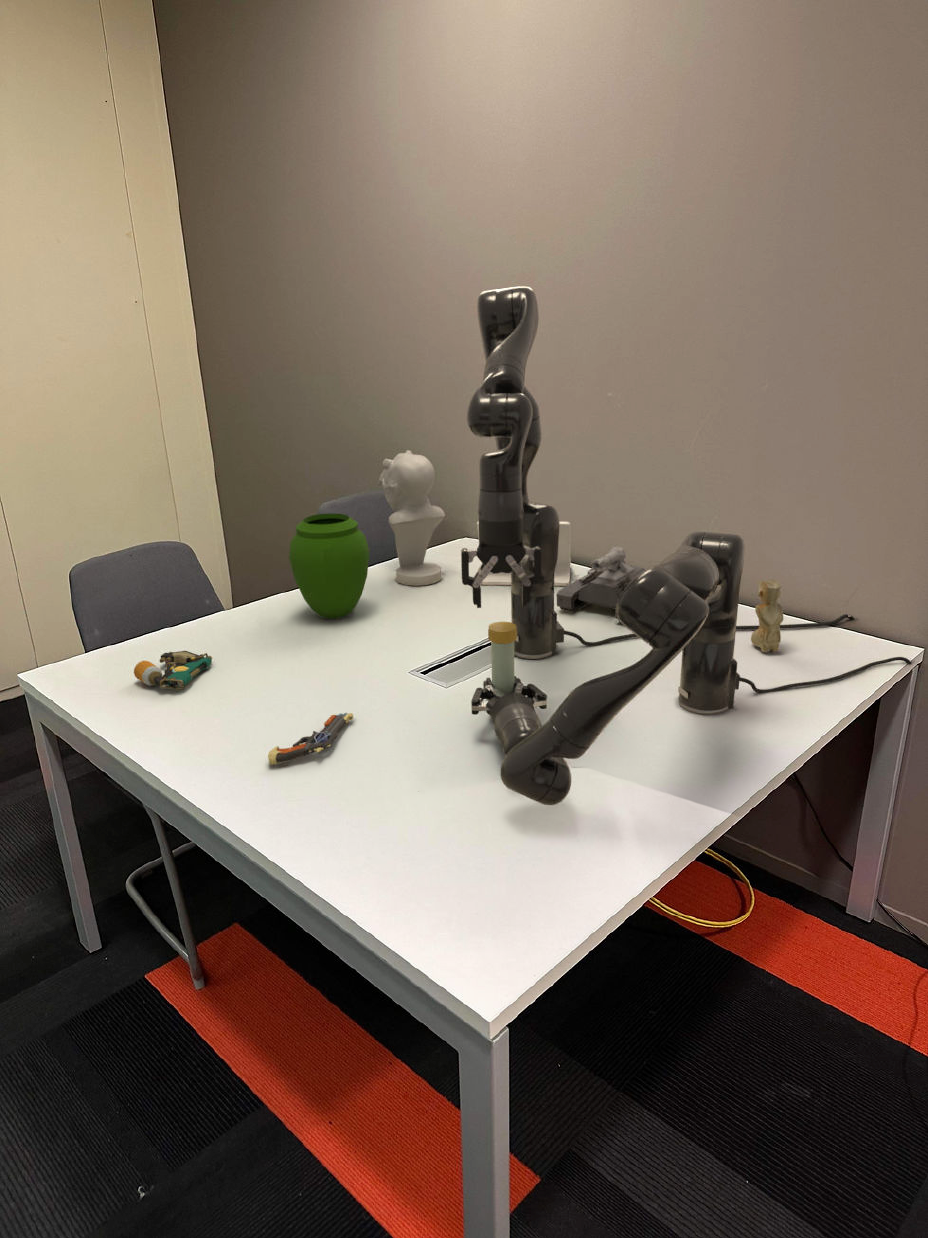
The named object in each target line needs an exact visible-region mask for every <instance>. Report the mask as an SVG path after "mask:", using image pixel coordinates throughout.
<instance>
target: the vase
mask: <svg viewBox="0 0 928 1238" xmlns="http://www.w3.org/2000/svg"><path fill="white" fill-rule="evenodd" d="M358 524H359V523H358V521H356V520H355V519H353V518H352V517H350V516H349V515H347V514H344V513H335V512H334V513H333V512H331V513H320V514H313V515H310V516H307V517H305V518H303V519H302V520H301V521H300V522H299V523H298V524H297V525H296V526H295V532H296V533H295V534H294V536H293V537H292V538H291V540H290V542H289V551H288V559H289V564H290V566H291V567H290V568H291V570H292V575H293V578H294V581H295V584H296V586H297V587H298V589H299V591H300V593H301V596H302V597H303V600H304V601H305V603H306V604H307V605H308V607H309V608H310V609H311V611H312V612H314V613H315V614H316V615H317V616H318V617H320V618H324V619H326V620H327V619H329V620H336V619H341V618H345V617H347V616H349V615H350V614H351V613H352V612H353V611H354V610H355V608H356V607H357V605H358V604H359V601H360V599H361V597H362V595H363V592H364V588H365V586H366V581H367V578H368V570H369V561H370V560H369V559H370V548H369V545H368V541H367V537H366V535H365V534H364V533H363V532H362V531H361V530H360V529H359V527H358Z"/></svg>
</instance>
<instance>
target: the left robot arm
mask: <svg viewBox="0 0 928 1238" xmlns="http://www.w3.org/2000/svg"><path fill="white" fill-rule="evenodd" d="M476 307H477V320H478V325H479V331H480V338H481V343H482V348H483V355H484V359H485V365H484V371H483V379H482V382H481V383H480V385H479V387H478V388H477V389H476V390H475V392H474V393H473V395H472V396H471V399H470V401H469V404H468V407H467V412H466V422H467V426H468V428H469V430H470V432H471V433H472V434H473V435H474V436H476V437H479V438H485V439H486V438H491V439H493V438H495V444H496V449H495V450H493V451H488V452H485V453H483V454H481V456H480V458H479V461H478V462H479V463H478V465H479V467H478V471H479V492H478V493H479V494H478V511H477V513H478V521H479V538H478V547H477V548H476V549H468V548H466V547H463V548H462V549H461V550H460V559H461V560H460V562H461V583H462V585H464V586H469V587H471V588H472V603H473V605H474V606H476V608H477V609H482V588H481V587H482V586H481V585H482V584H481V583H482V581H483V580H484V579H485V578H486V577H487V575H488V574H489V572H492V573H493V574H495V573H500V572H503V573H511V585H510V588H511V589H510V597H511V599H510V603H511V604H510V606H511V607H510V609H511V610H510V615H511V617H510V618H511V621H510V622H511V623H514V624H515V625H516V628H517V639H516V640H515V641H514V657H518V658H521V659H525V660H526V659H527V660H540V659H545V658H548V657H550V656H552V655H557V654H558V653H557V650H558V649H557V648H558V647H557V645H558V644H562V643H565V636H569V637H573V638H574V639H576V640H578V641H579V642H580V643H581V644H582V645H584V646H587V647H596V646H601V645H605V644H607V643H611V642H615V641H622V640H626V639H627V640H628V639H633V638H639V637H638V636H637V635H636V634H634V633H629V634H623V635H622V634H621V635H617V636H612V637H608V638H605V639H601V640H598V641H586V640H585V639H584V638H583V637H582V636H581V635H580V634H578V633H576V632H573V631H569V630H565V628H564V627H563V626H562V624H561V623H560V622H559V621H558V613H557V612H556V611H555V586H554V572H555V567H556V564H557V559H558V543H559V527H560V526H559V522H560V517H559V514H558V511H557V509H556V508H555V507H554V506H553V505H550V504H547V503H539V502H533V501H530V499H529V495H528V475H529V473H530V469H531V467H532V464H533V462H534V461H535V458H536V456H537V455H538V452H539V450H540V447H541V443H542V428H541V427H542V425H541V417H540V416H541V415H540V408H539V405H538V402H537V401H536V399H535V397H534V396H533V394H532V393H531V392H530V391H529V389H528V388H527V387H526V385H525V380H526V368H527V363H528V360H529V356H530V354H531V351H532V348H533V346H534V342H535V339H536V336H537V334H538V333H537V332H538V330H539V329H538V328H539V319H540V318H539V306H538V299H537V296H536V293H535V291H534V290H533V289H532V288H531V287H529V286H514V287H506V288H499V289H491V290H484V291H481V292H480V294H479V295H478V298H477V306H476ZM524 546H528V547H529V548H525V547H524ZM525 555H528V558H526V559H523V558H524V557H525ZM476 557H477V558H478V560H479V561H480V562H481V564H480V566H479V568H478V569H477V572H475V575H474V576H470V563H473V561H474V558H476ZM847 614H848V613H844V614H842V615H840V616H839V617H837V618H836V619H833V620H830V621H824V622H823V621H822V622H810V623H809V622H808V623H792V624H780V630H782V629H783V630H784V629H800V628H801V629H803V628H817V627H818V628H820V627H828V626H833V625H836V624H838V623H840V622H841V621H843V620H845V619H849V620H850V621H855V618H854V616H853V615H851V617H848V615H847ZM758 628H759V624H757V625H736V631H739V630H757V629H758Z"/></svg>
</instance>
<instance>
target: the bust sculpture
mask: <svg viewBox="0 0 928 1238" xmlns="http://www.w3.org/2000/svg"><path fill="white" fill-rule="evenodd" d="M382 465H383V467H384V469H383V471H382V472H381V474H380V476H379V479H378V486H382V488H383V491H384V497H385V500H386V502H387V504H388V505H389V506H390V508H391V509H392V510H393V513H392V514H391V515H390V516H389V517H388V524H389V527H390V528H391V531H393V533H394V540H395V548H396V554H397V559H398V564H399V566H398V567H397V568H396V569H395V575H396V576H395V578H396V582H398V583H399V584H402V585H406V586H416V587H417V586H429V585H432V584H435V583H438V582H440V581H441V580H442V579H443V575H442V573H443V572H442V566H440V565H438V564H435V563H429V562H425V557H426V554H427V551H428V547H429V544H430V542H431V538H432V536H433V534H434V532H435V530H436V528H437V527H438V525H440V523H441V522H442V521H443V520H444V519H445V518H446V513H445V511H444V510H443V509H442V507H439V506H437V505H431V502H430V499H429V496H428V494H429V493H430V492H431V490H432V488H433V485H434V481H435V468H434V466H433V463H432V462H431V461H430V460H429V459H428V458H427V457H426V456H424V455H421V454H413V452H412V451H411V450H409V449H406V451H405V452H402V453H401V452H400V453H398V454H396V456H394V458H393V459H390V458H384V460H383V461H382Z"/></svg>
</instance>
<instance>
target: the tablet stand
mask: <svg viewBox="0 0 928 1238" xmlns="http://www.w3.org/2000/svg"><path fill="white" fill-rule="evenodd" d="M559 526H560V527H559V543H558V559H557V564H556V567H555V572H554V587H556V586H557V587H566V586H567V585H569V584H570V580H571V579H570V578H571V565H572V564H571V560H572V558H571V522H569V521H559ZM476 531H477V537H478V539H479V520H477V522H476ZM524 547H525V548H529V547H528V546H524ZM526 558H528V555H525V557H524V558H523V559H526ZM480 585H484V586H485V585H486V586H487V585H489V586H490V585H491V586H511V573H503V572H500V573H495V574H493V573H492V572H489V574H488V575H487V577H486V578H485V579H484V580H483V581H482V583H481V584H480Z"/></svg>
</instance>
